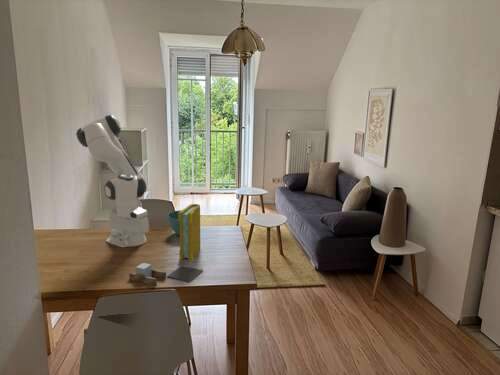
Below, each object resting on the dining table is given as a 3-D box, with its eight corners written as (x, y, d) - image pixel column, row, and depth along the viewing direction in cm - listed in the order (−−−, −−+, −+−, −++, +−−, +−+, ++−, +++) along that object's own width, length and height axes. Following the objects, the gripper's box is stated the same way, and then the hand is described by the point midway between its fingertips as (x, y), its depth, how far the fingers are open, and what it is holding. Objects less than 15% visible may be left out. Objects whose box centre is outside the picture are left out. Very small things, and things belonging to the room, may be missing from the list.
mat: (167, 277, 172) (167, 276, 171) (181, 266, 182) (181, 265, 182) (189, 282, 167) (189, 281, 167) (203, 271, 178) (203, 270, 178)
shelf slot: (129, 279, 169) (129, 273, 168) (140, 272, 176) (140, 266, 175) (155, 285, 163) (155, 279, 163) (165, 277, 171) (165, 271, 170)
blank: (136, 279, 169) (136, 267, 168) (143, 274, 173) (143, 262, 172) (144, 281, 167) (144, 268, 166) (151, 276, 172) (151, 264, 170)
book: (191, 260, 190) (191, 213, 184) (179, 259, 191) (178, 212, 185) (202, 248, 206) (202, 204, 200) (191, 246, 207) (190, 203, 201)
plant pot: (169, 240, 216) (168, 219, 213) (167, 229, 233) (166, 210, 230) (200, 237, 221) (200, 217, 218) (196, 227, 238) (196, 209, 235)
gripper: (104, 209, 167) (106, 238, 170) (141, 215, 159) (142, 246, 163) (114, 205, 173) (115, 234, 176) (150, 211, 165) (151, 241, 168)
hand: (129, 239), depth 169 cm, fingers closed
